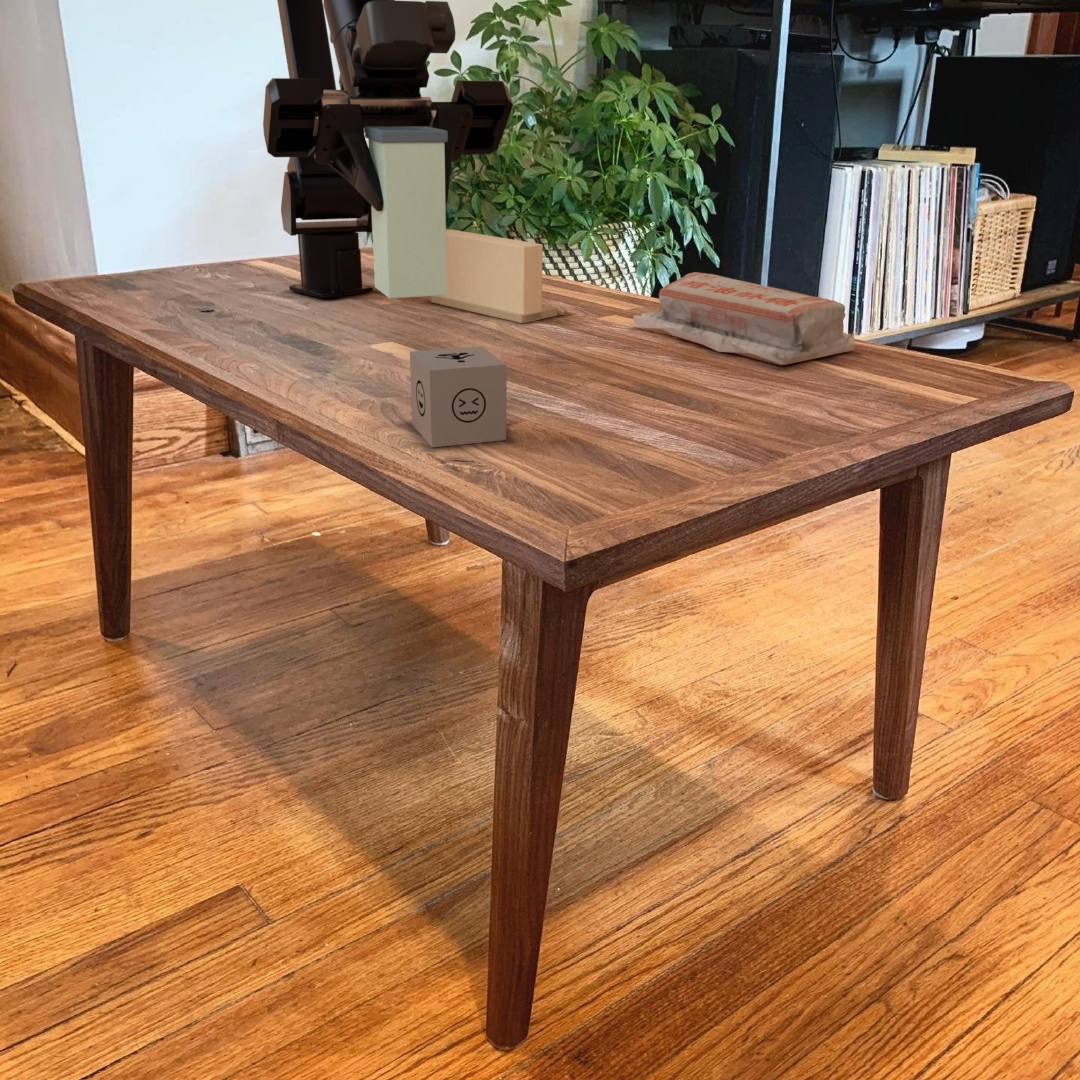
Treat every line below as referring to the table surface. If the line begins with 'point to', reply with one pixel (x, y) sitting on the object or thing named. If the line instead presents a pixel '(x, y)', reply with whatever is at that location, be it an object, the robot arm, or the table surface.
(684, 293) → the packaged product
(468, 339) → the table surface
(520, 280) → the wall
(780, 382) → the table surface
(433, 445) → the dice cube
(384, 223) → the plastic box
